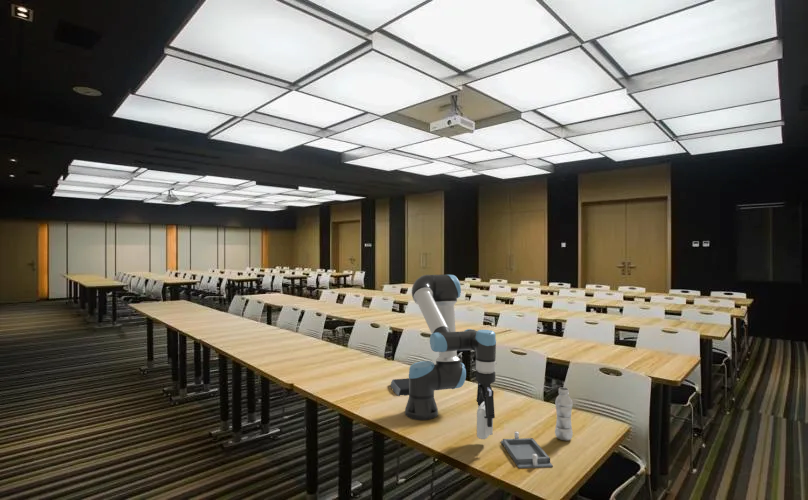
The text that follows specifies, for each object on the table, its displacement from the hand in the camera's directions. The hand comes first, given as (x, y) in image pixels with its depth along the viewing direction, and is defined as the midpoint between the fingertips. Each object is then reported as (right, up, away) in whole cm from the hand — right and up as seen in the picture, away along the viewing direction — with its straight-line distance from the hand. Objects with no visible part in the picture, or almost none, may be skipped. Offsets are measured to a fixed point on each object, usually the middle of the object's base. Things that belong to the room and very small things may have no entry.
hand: (485, 428), depth 159 cm
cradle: (+14, -7, -7) cm, 17 cm away
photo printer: (0, -2, 0) cm, 2 cm away
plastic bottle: (+33, -7, +6) cm, 34 cm away
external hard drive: (-31, -8, +67) cm, 74 cm away
